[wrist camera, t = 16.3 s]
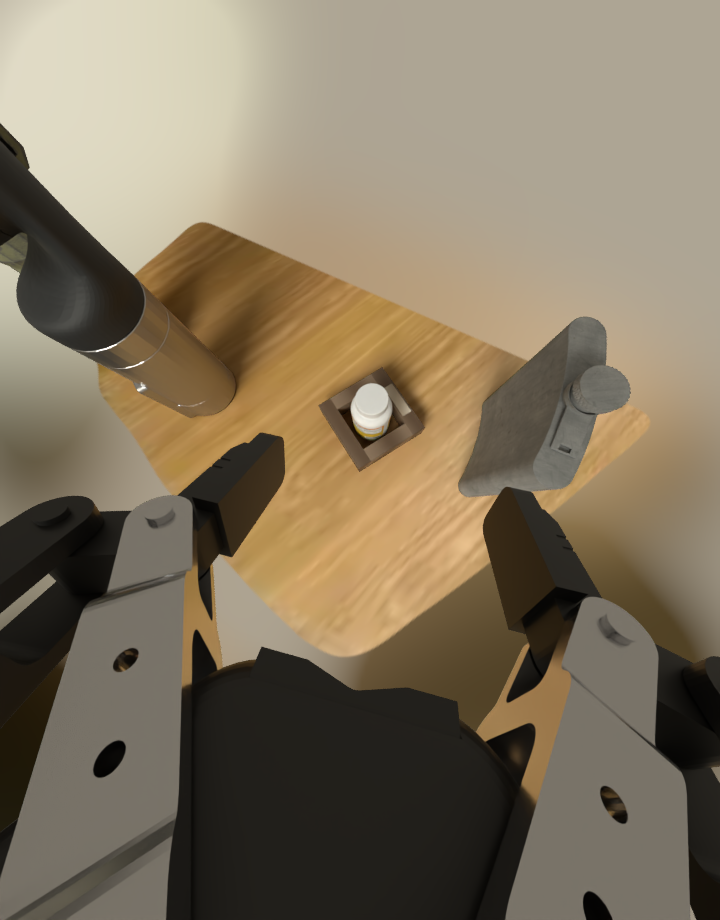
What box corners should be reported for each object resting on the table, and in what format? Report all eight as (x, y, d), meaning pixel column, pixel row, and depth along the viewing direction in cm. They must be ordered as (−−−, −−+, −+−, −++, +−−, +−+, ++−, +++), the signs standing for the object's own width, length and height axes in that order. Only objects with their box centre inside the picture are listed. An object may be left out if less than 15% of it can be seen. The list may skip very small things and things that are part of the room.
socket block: (359, 471, 39) (358, 468, 35) (322, 412, 40) (318, 404, 37) (420, 433, 39) (425, 426, 36) (381, 377, 41) (382, 366, 38)
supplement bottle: (370, 400, 40) (371, 368, 31) (396, 423, 40) (404, 397, 30) (346, 425, 40) (339, 399, 30) (371, 448, 39) (372, 429, 30)
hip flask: (485, 395, 40) (597, 288, 20) (511, 404, 40) (651, 303, 20) (455, 492, 38) (550, 477, 18) (482, 502, 37) (611, 497, 18)
